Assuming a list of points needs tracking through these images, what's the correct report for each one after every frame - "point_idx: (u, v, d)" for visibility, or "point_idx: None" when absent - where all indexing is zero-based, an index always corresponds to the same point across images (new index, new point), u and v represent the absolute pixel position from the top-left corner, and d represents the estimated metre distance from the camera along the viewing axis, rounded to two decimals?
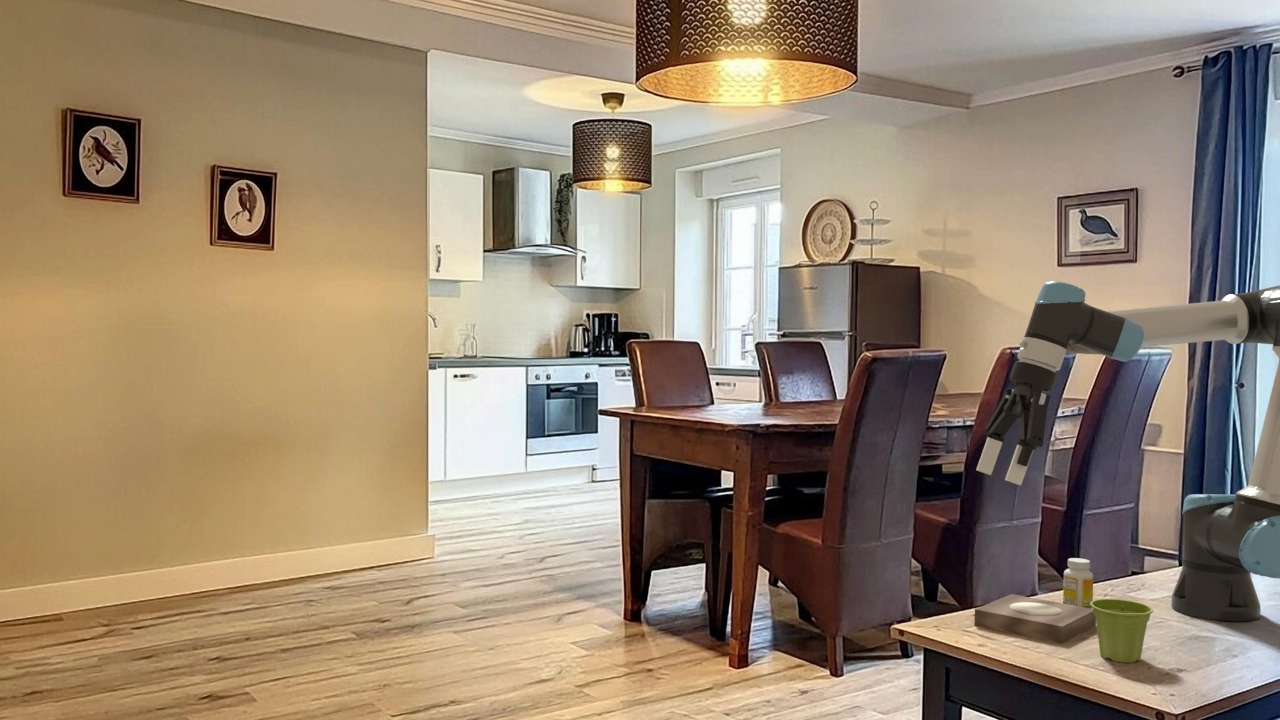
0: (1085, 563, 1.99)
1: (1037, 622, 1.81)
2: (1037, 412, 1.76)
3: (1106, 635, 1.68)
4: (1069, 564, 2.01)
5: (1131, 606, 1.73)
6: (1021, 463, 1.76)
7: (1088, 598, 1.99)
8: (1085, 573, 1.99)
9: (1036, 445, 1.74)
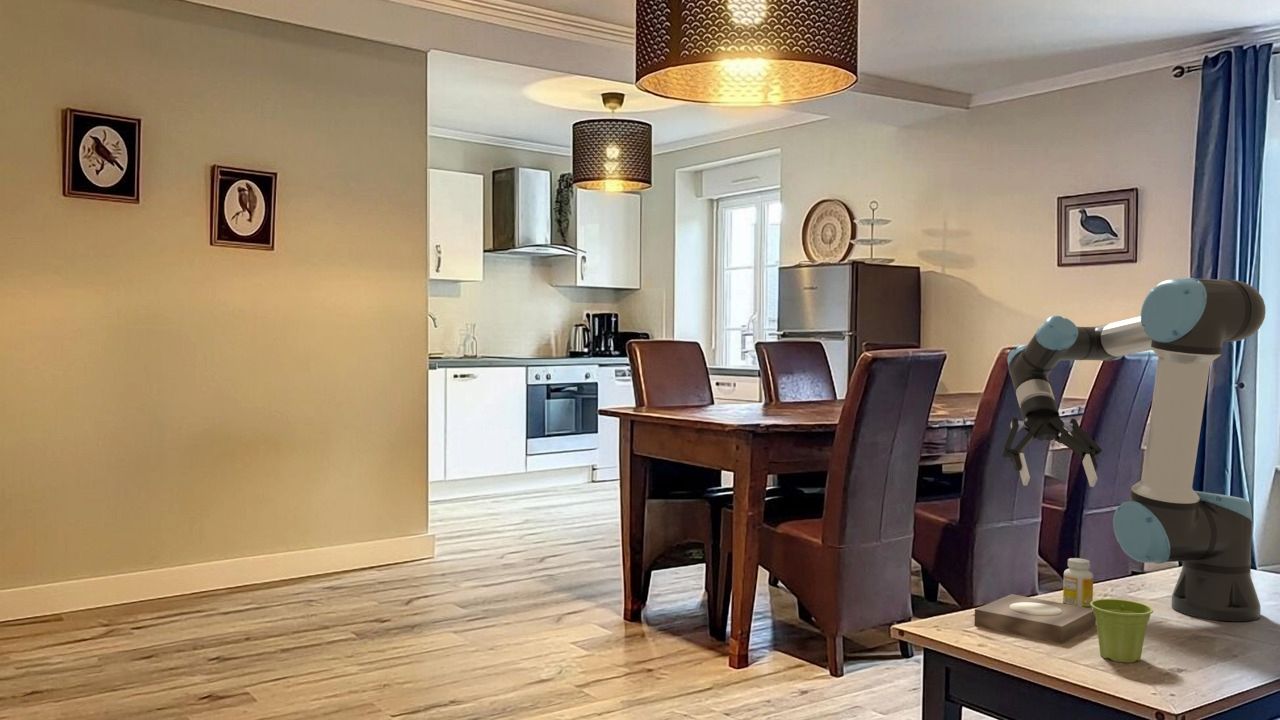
0: (1085, 563, 1.99)
1: (1037, 622, 1.81)
2: None
3: (1106, 635, 1.68)
4: (1069, 564, 2.01)
5: (1131, 606, 1.73)
6: (1015, 468, 2.15)
7: (1088, 598, 1.99)
8: (1085, 573, 1.99)
9: (1005, 452, 2.17)
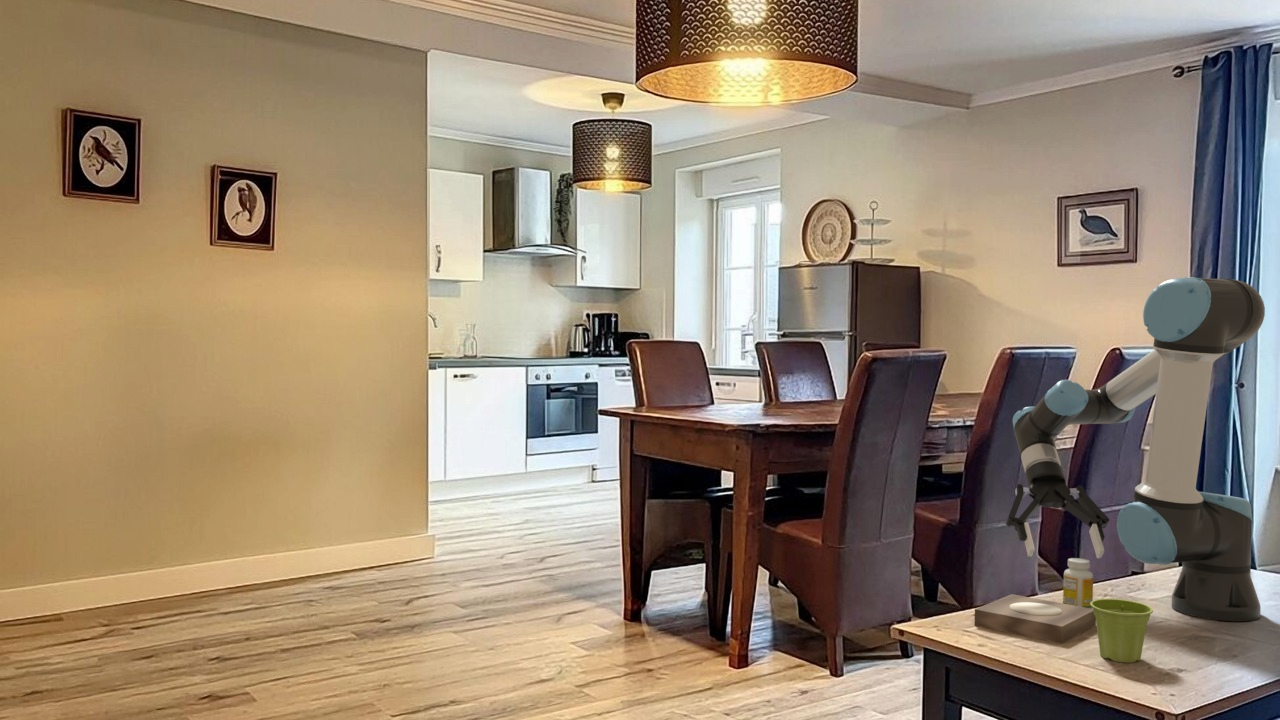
0: (1085, 563, 1.99)
1: (1037, 622, 1.81)
2: None
3: (1106, 635, 1.68)
4: (1069, 564, 2.01)
5: (1131, 606, 1.73)
6: (1020, 538, 2.09)
7: (1088, 598, 1.99)
8: (1085, 573, 1.99)
9: (1009, 521, 2.12)
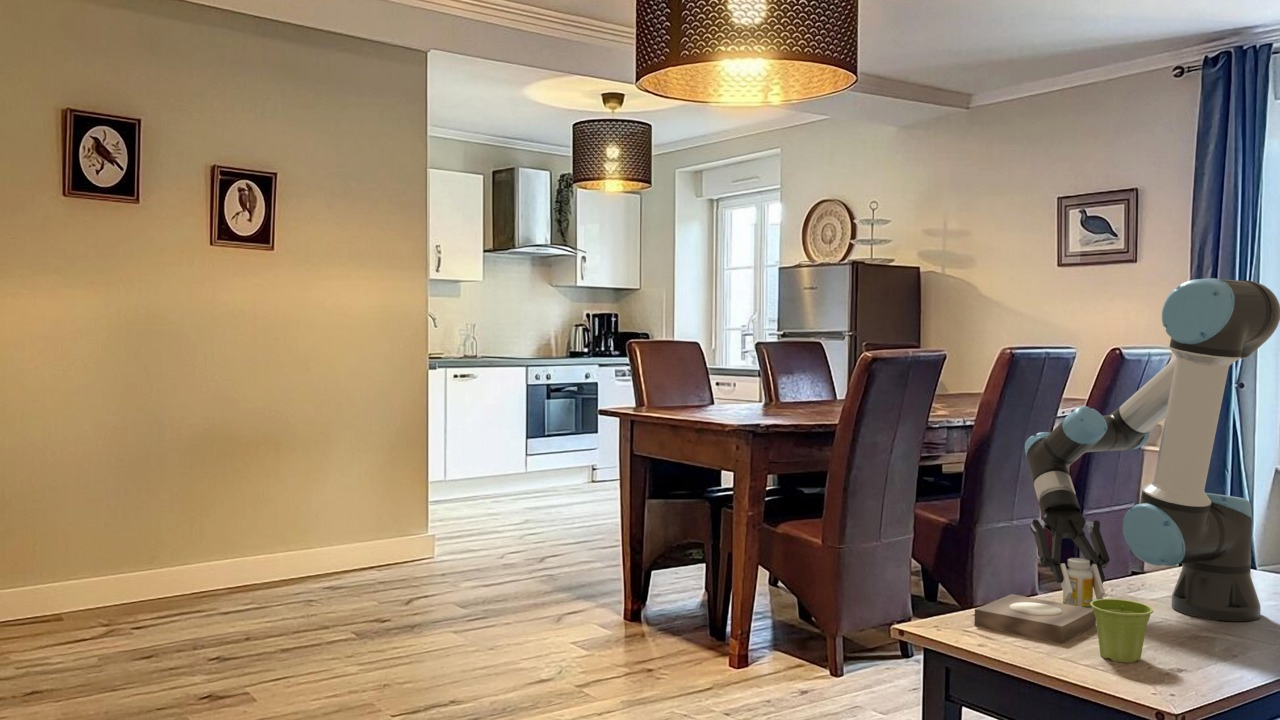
0: (1085, 563, 1.99)
1: (1037, 622, 1.81)
2: (1036, 539, 2.07)
3: (1106, 635, 1.68)
4: (1069, 564, 2.01)
5: (1131, 606, 1.73)
6: (1056, 580, 2.01)
7: (1088, 598, 1.99)
8: (1085, 573, 1.99)
9: (1045, 562, 2.03)
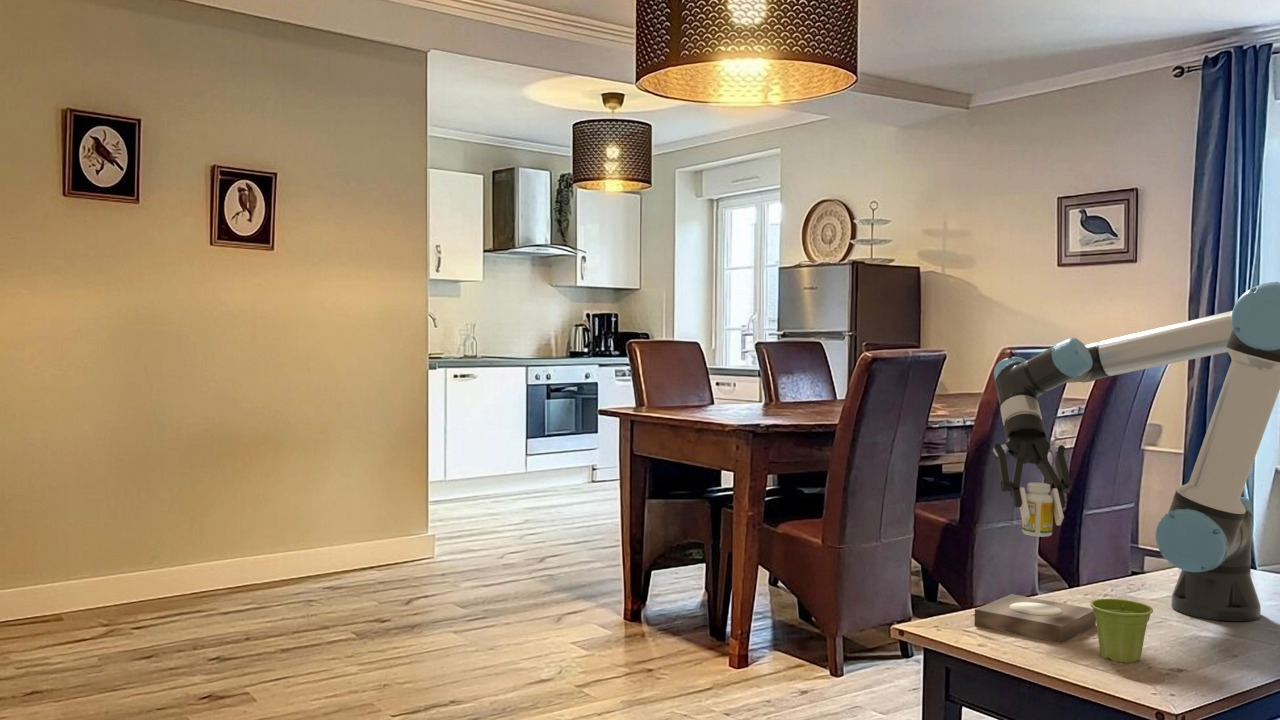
0: (1044, 487, 1.92)
1: (1037, 622, 1.81)
2: (998, 464, 2.01)
3: (1106, 635, 1.68)
4: (1028, 488, 1.94)
5: (1131, 606, 1.73)
6: (1015, 504, 1.94)
7: (1047, 523, 1.92)
8: (1044, 497, 1.92)
9: (1004, 486, 1.96)
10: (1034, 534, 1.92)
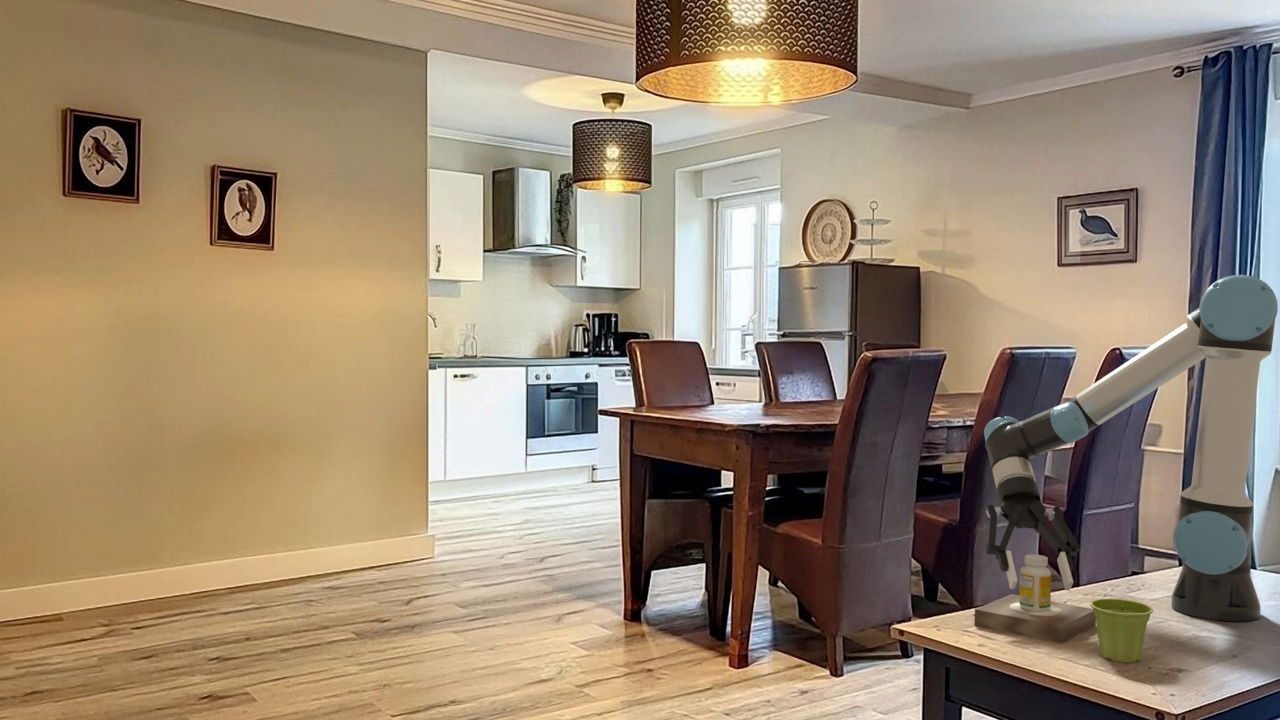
0: (1042, 560, 1.87)
1: (1037, 622, 1.81)
2: (988, 525, 1.95)
3: (1106, 635, 1.68)
4: (1026, 561, 1.89)
5: (1131, 606, 1.73)
6: (1001, 568, 1.89)
7: (1046, 597, 1.87)
8: (1042, 570, 1.87)
9: (990, 549, 1.91)
10: (1032, 609, 1.87)
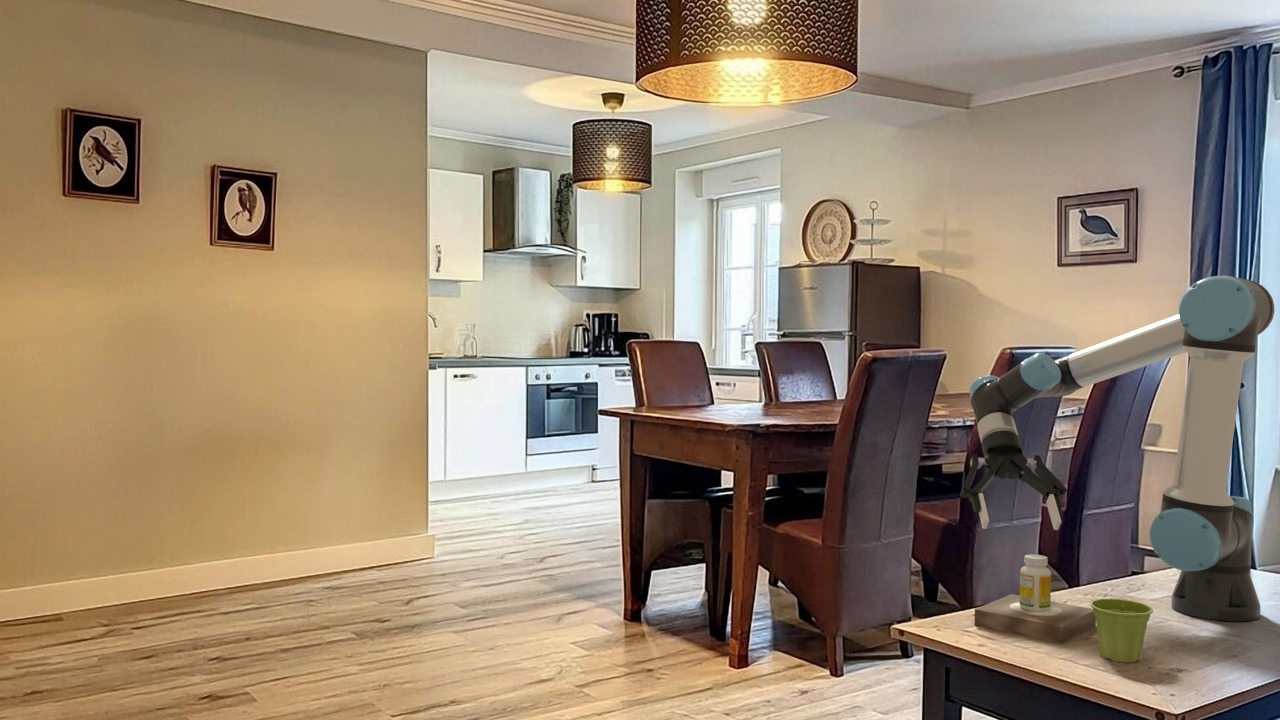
0: (1042, 560, 1.87)
1: (1037, 622, 1.81)
2: None
3: (1106, 635, 1.68)
4: (1025, 561, 1.89)
5: (1131, 606, 1.73)
6: (974, 510, 2.01)
7: (1046, 597, 1.87)
8: (1042, 570, 1.87)
9: (964, 492, 2.03)
10: (1032, 609, 1.87)
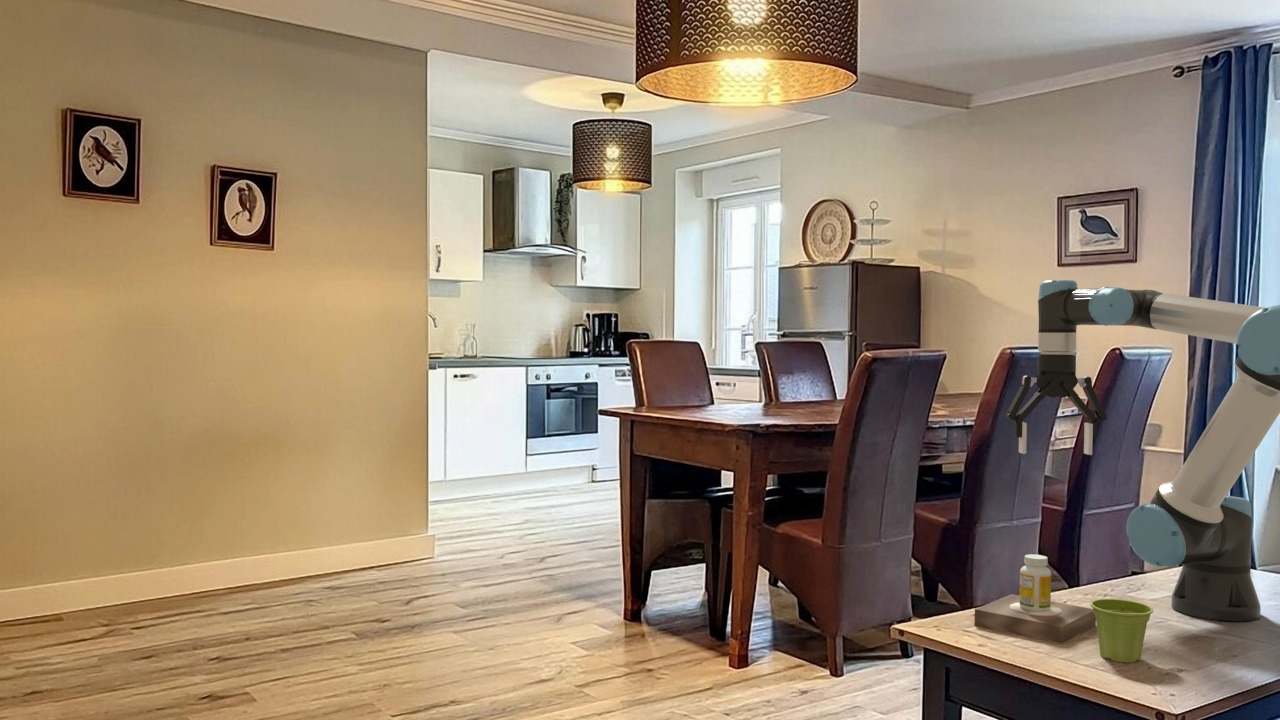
0: (1042, 560, 1.87)
1: (1037, 622, 1.81)
2: (1018, 392, 2.18)
3: (1106, 635, 1.68)
4: (1026, 561, 1.89)
5: (1131, 606, 1.73)
6: (1015, 435, 2.18)
7: (1046, 597, 1.87)
8: (1042, 570, 1.87)
9: (1009, 418, 2.17)
10: (1033, 609, 1.87)
